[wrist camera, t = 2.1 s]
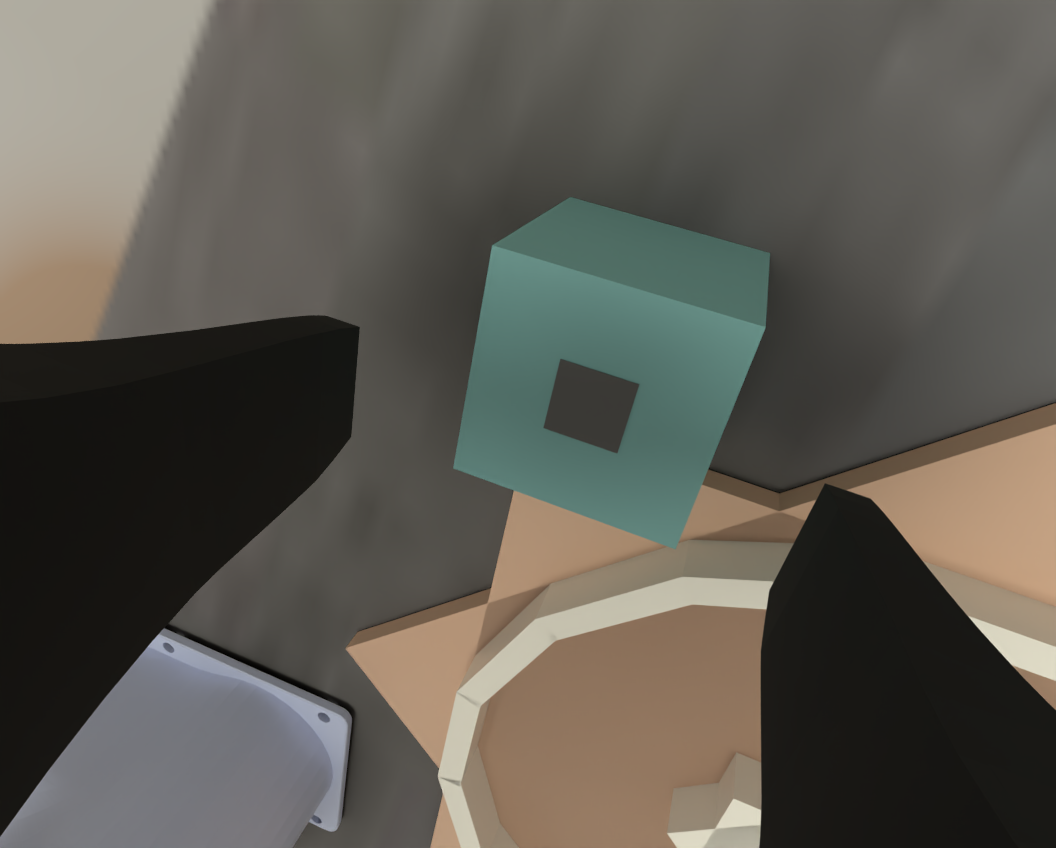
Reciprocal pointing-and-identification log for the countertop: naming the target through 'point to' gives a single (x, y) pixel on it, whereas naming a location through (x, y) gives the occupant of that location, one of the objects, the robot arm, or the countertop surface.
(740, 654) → the ring tray
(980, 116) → the countertop surface
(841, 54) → the countertop surface
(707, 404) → the bead
